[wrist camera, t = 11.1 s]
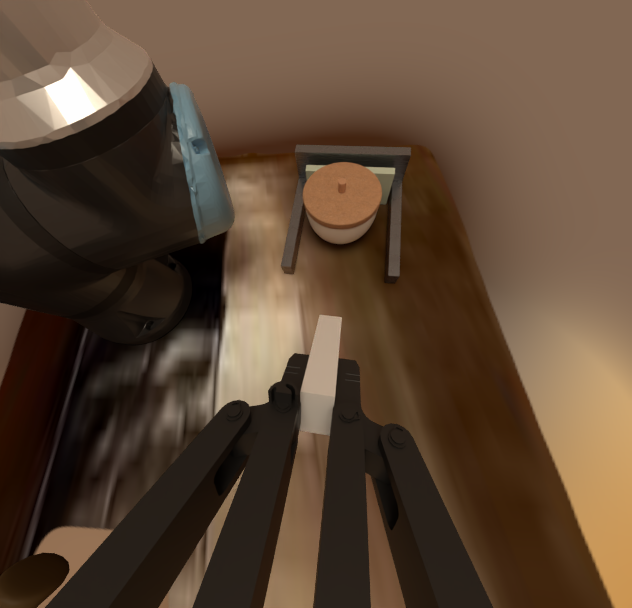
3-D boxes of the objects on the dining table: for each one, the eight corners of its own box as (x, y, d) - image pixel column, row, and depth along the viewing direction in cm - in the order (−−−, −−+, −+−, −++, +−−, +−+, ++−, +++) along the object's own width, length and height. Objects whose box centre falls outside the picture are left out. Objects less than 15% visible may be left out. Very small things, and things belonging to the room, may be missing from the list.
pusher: (309, 200, 40) (305, 170, 35) (310, 194, 41) (306, 164, 35) (386, 204, 39) (394, 174, 33) (386, 198, 39) (395, 167, 33)
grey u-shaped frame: (284, 273, 36) (273, 249, 29) (302, 182, 42) (296, 144, 35) (394, 283, 34) (409, 260, 27) (398, 186, 40) (410, 147, 33)
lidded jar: (314, 199, 40) (308, 148, 31) (375, 204, 39) (387, 152, 30) (303, 252, 37) (293, 212, 28) (370, 259, 36) (381, 219, 27)
